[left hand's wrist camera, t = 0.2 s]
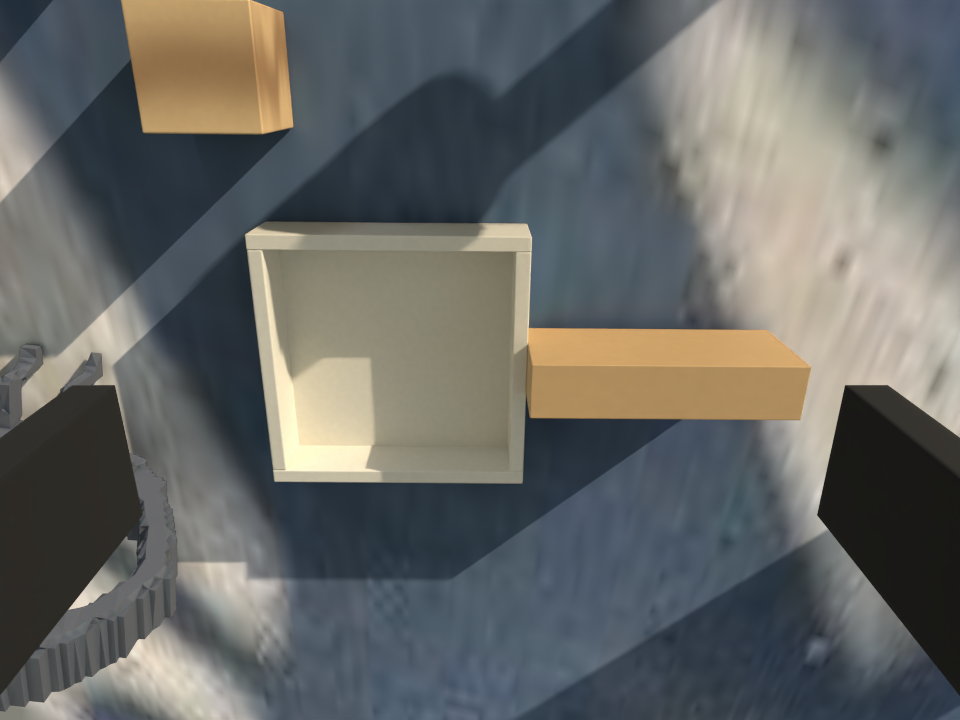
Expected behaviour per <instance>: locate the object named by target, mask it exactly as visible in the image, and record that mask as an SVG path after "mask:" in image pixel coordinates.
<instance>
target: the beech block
mask: <svg viewBox="0 0 960 720" xmlns="http://www.w3.org/2000/svg"><path fill="white" fill-rule="evenodd" d="M121 3H122V9H123V15H124V21H125V27H126V33H127V39H128V45H129V51H130V57H131V63H132V69H133V75H134V81H135V87H136V93H137V100H138V106H139V112H140V118H141V124H142V130H143V133H156V134H267V133H271V132H276V131H280V130H285V129H289V128H293V118H292V106H291V95H290V83H289V72H288V60H287V49H286V38H285V26H284V15H283V12H281V11H278V10H276V9H273V8H270V7H268V6H265V5H262V4H260V3H257V2H254V1H252V0H121Z"/></svg>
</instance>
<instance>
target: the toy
mask: <svg viewBox="0 0 960 720" xmlns="http://www.w3.org/2000/svg"><path fill="white" fill-rule="evenodd" d="M42 364H43V356H42V346H40V345H33V344H25V345H23V346H21V347H20V355H19V363H18V364H17V365H16V367H15V368H14V369H13V370H12V371H10V372H8V373H7V374H5V375H4V376H2V377H1V378H0V438H1V437H2V436H3V435H5V434H6V433H7V432H9V431H10V430H12V429H13V428H14V427H16V426H17V425H18V424H20V423H21V422H23V421H22V420H20V418H21V416H22V399H21V387H22V382H23V381H24V380H26V377H27V376H28V375H30V374H32V373H34V372H36V371H37V370H38V369H39V368H40V367H41V366H42ZM102 376H103V372H102V356H101V354H100V353H92V352H91V355H90V357H89V359H88V362H87V364H86V367H85V371H84V372H83V373H82V374H80V375H79V376H78V377H77V378H75V379H74V380H73V381H71V382H70V383H69V384H68V385H66V386H64V387H63V388H61V389H60V392H61V393H62V392H64V391H65V390H66V389H68V388H69V387H71V386H72V385H92V384H93V383H95V382H96V381H97V380H98V379H99V378H101V377H102ZM129 454H130V453H129ZM130 458H131V463H132V468H133V472H134V477H135V481H136V486H137V491H138V495H139V500H140V505H141V509H142V514H143V515H142V517H141V518H140V519H139V520H138V522H137V523H136V524H135V526H134V527H133V528H132V529H131V531H130V532H129V533H128V534H127V537H128V540H138V541H137V565H138V566H137V568H136V569H135V570H134V572H133V573H132V575H131V576H130V577H129V579H128V580H127V581H126V582H119V583H118V584H117V586H116V587H115V588H114V589H113V590H112V591H111V592H109V593H108V594H102V595H101V596H100V597H99V598H98V599H97V600H96V601H95V602H94V603H89V604H88V605H87V606H84V607H81V608H76V609H71V610H67V612H66V613H65V614H64V615H63V617H62V618H61V619H60V620H59V622H58V623H57V624H56V626H55V627H54V628H53V629H52V631H51V632H50V633H49V634H48V636H47V637H46V638H45V639H44V641H43V642H42V643H41V645H40V646H39V647H38V648H37V650H36V651H35V652H34V653H33V655H32V656H31V657H30V658H29V660H28V661H27V662H26V663H25V665H24V666H23V667H22V669H21V670H20V671H19V672H18V674H17V675H16V676H15V677H14V679H13V680H12V681H11V682H10V684H9V685H8V686H7V688H6V689H5V690H4V691H3V693H2V694H1V695H0V711H6V710H7V709H8V707H9V706H10V705H11V706H21V707H25V706H26V705H27V703H28V702H29V701H35V702H45V700H46V699H47V698H48V696H49V695H50V693H51V692H59V691H62V690H65V689H67V688H69V687H71V686H72V685H73V684H75V683H78V682H82V680H83V679H84V677H85V676H88V677H93V676H94V675H95V674H96V673H97V672H98V671H99V670H100V669H103V668H105V667H107V666H108V665H110V664H112V663H116V662H117V660H118V658H119V657H121V658H127V656H128V654H129V653H130V651H131V649H132V648H133V646H134V645H135V643H136V641H137V640H138V639H145V638H146V637H147V636H148V635H149V634H150V633H151V631H152V630H154V629H155V628H157V627H159V626H160V625H161V623H162V621H163V620H164V618H165V617H168V618H171V617H172V615H173V613H174V612H175V610H176V583H175V579H176V577H177V538H176V531H175V523H174V516H173V509H170V508H169V504H168V497H167V481H164V478H161V477H156V476H155V474H153V470H150V469H148V468H147V460H146V459H144V458H141V457H139V456H138V455H134V454H130Z"/></svg>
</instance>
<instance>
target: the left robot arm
mask: <svg viewBox="0 0 960 720" xmlns="http://www.w3.org/2000/svg"><path fill="white" fill-rule="evenodd" d="M142 515H143V514H142V509H141V505H140V500H139V495H138V491H137V486H136V481H135V477H134V472H133V468H132V463H131V458H130V454H129V449H128V444H127V440H126V435H125V430H124V426H123V421H122V417H121V412H120V407H119V403H118V398H117V393H116V389H115V385H72V386H71V387H69V388H68V389H66V390H65V391H64V392H62V393H61V394H60V395H58V396H57V397H56V398H54V399H53V400H51V401H50V402H49V403H47V404H46V405H45V406H43V407H42V408H40V409H39V410H38V411H36V412H35V413H34V414H32V415H31V416H29V417H28V418H27V419H25V420H24V421H23V422H21V423H20V424H18V425H17V426H16V427H14V428H13V429H12V430H10V431H9V432H7V433H6V434H5V435H3V436H2V437H1V438H0V695H1V694H2V693H3V691H4V690H5V689H6V688H7V686H8V685H9V684H10V682H11V681H12V680H13V679H14V677H15V676H16V675H17V674H18V672H19V671H20V670H21V669H22V667H23V666H24V665H25V663H26V662H27V661H28V660H29V658H30V657H31V656H32V655H33V653H34V652H35V651H36V650H37V648H38V647H39V646H40V645H41V643H42V642H43V641H44V639H45V638H46V637H47V636H48V634H49V633H50V632H51V631H52V629H53V628H54V627H55V626H56V624H57V623H58V622H59V620H60V619H61V618H62V617H63V615H64V614H65V613H66V612H67V610H68V609H69V608H70V607H71V605H72V604H73V603H74V601H75V600H76V599H77V598H78V596H79V595H80V594H81V593H82V591H83V590H84V589H85V588H86V586H87V585H88V584H89V582H90V581H91V580H92V579H93V577H94V576H95V575H96V574H97V572H98V571H99V570H100V569H101V567H102V566H103V565H104V563H105V562H106V561H107V560H108V558H109V557H110V556H111V555H112V553H113V552H114V551H115V550H116V548H117V547H118V546H119V545H120V543H121V542H122V541H123V539H124V538H125V537H126V536H127V534H128V533H129V532H130V531H131V529H132V528H133V527H134V526H135V524H136V523H137V522H138V520H139V519H140V518H141V517H142ZM817 515H818V517H819V518H820V519H821V520H822V522H823V523H824V524H825V526H826V527H827V528H828V529H829V531H830V532H831V533H832V534H833V536H834V537H835V538H836V539H837V541H838V542H839V543H840V545H841V546H842V547H843V548H844V550H845V551H846V552H847V553H848V555H849V556H850V557H851V558H852V560H853V561H854V562H855V563H856V565H857V566H858V567H859V569H860V570H861V571H862V572H863V574H864V575H865V576H866V577H867V579H868V580H869V581H870V582H871V584H872V585H873V586H874V588H875V589H876V590H877V591H878V593H879V594H880V595H881V596H882V598H883V599H884V600H885V601H886V603H887V604H888V605H889V607H890V608H891V609H892V610H893V612H894V613H895V614H896V615H897V617H898V618H899V619H900V620H901V622H902V623H903V624H904V626H905V627H906V628H907V629H908V631H909V632H910V633H911V634H912V636H913V637H914V638H915V639H916V641H917V642H918V643H919V645H920V646H921V647H922V648H923V650H924V651H925V652H926V653H927V655H928V656H929V657H930V658H931V660H932V661H933V662H934V664H935V665H936V666H937V667H938V669H939V670H940V671H941V672H942V674H943V675H944V676H945V677H946V679H947V680H948V681H949V682H950V684H951V685H952V686H953V688H954V689H955V690H956V691H957V693H958V694H959V695H960V438H959V437H958V436H957V435H955V434H954V433H953V432H951V431H950V430H948V429H947V428H946V427H944V426H943V425H942V424H940V423H939V422H937V421H936V420H935V419H933V418H932V417H931V416H929V415H928V414H926V413H925V412H924V411H922V410H921V409H920V408H918V407H917V406H915V405H914V404H913V403H911V402H910V401H909V400H907V399H906V398H904V397H903V396H902V395H900V394H899V393H898V392H896V391H895V390H894V389H892V388H891V387H889V386H888V385H845V389H844V393H843V398H842V403H841V407H840V412H839V417H838V421H837V426H836V430H835V435H834V440H833V444H832V449H831V454H830V458H829V463H828V468H827V472H826V477H825V481H824V486H823V491H822V495H821V500H820V505H819V509H818V514H817Z"/></svg>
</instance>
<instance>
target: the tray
mask: <svg viewBox="0 0 960 720" xmlns="http://www.w3.org/2000/svg"><path fill="white" fill-rule="evenodd" d="M245 240H246V248H247V255H248V263H249V271H250V280H251V288H252V297H253V305H254V313H255V322H256V330H257V339H258V347H259V356H260V364H261V372H262V381H263V389H264V398H265V406H266V414H267V423H268V431H269V440H270V448H271V456H272V465H273V474H274V481H275V482H379V483H523V460H524V434H525V407H526V396H527V403H528V409H529V416H530V418H580V419H715V420H800V419H801V414H802V409H803V404H804V400H805V395H806V390H807V385H808V380H809V375H810V370H811V366H809V365H808V364H807V363H806V362H805V361H803V360H802V359H801V358H800V357H799V356H797V355H796V354H795V353H794V352H793V351H792V350H790V349H789V348H788V347H787V346H786V345H784V344H783V343H782V342H781V341H780V340H779V339H777V338H776V337H775V336H774V335H773V334H771V333H770V332H769V331H768V330H683V329H558V328H528V326H529V299H530V273H531V246H532V237H531V234H530V231H529V228H528V225H527V224H489V223H375V222H264V223H262V224H261V225H259V226H258V227H256V228H255V229H253V230H251V231H250V232H248V233H247V234H245Z"/></svg>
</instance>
